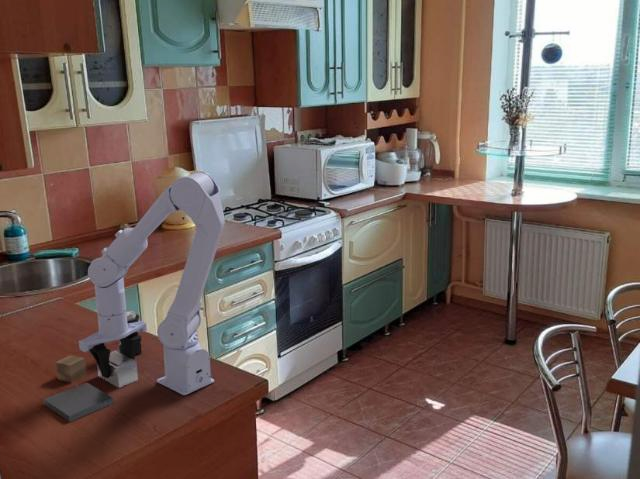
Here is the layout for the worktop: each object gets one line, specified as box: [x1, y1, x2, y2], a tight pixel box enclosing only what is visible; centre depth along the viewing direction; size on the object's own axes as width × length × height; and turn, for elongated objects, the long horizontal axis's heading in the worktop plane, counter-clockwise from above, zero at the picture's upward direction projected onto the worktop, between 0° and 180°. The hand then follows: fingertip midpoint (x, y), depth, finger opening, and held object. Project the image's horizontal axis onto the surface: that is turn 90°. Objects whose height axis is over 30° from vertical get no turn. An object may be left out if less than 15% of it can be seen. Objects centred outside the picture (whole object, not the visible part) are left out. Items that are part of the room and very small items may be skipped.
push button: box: [111, 310, 143, 355], centre depth 139 cm, size 7×5×10 cm
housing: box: [96, 350, 139, 389], centre depth 128 cm, size 8×4×5 cm, turn 50°
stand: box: [43, 382, 114, 423], centre depth 118 cm, size 10×9×1 cm
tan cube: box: [55, 354, 87, 383], centre depth 129 cm, size 4×4×4 cm
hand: (117, 371), depth 128 cm, fingers open, 5 cm apart
